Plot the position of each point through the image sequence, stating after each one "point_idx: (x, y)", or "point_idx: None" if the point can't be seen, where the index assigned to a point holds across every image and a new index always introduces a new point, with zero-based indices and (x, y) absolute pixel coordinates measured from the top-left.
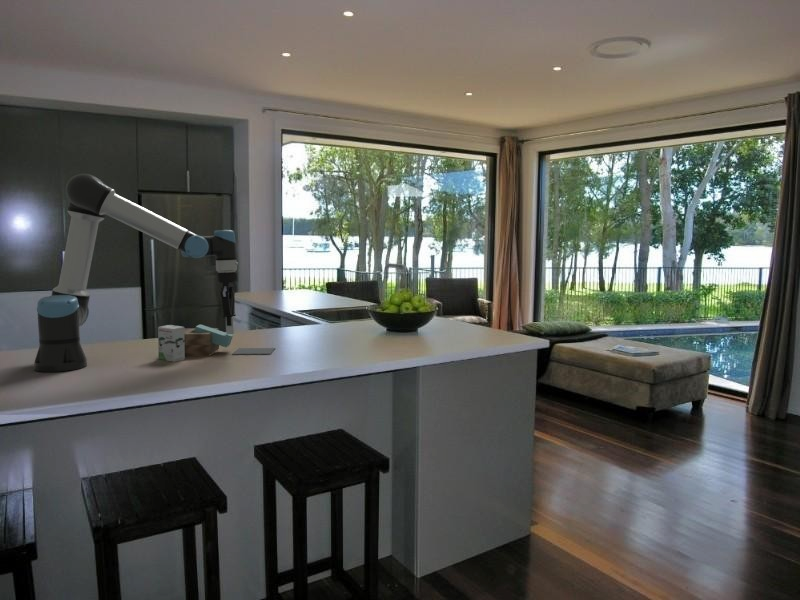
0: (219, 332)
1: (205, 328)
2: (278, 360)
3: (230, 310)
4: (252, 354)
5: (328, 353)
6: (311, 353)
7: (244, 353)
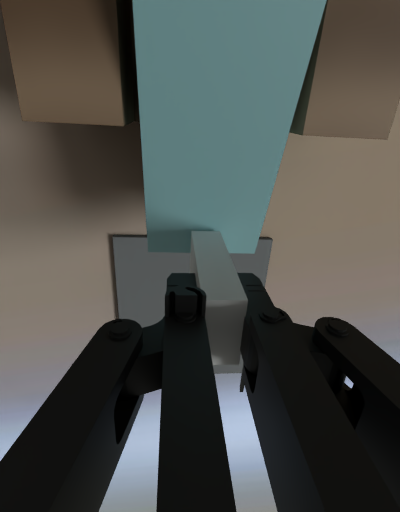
0: (207, 181)
1: (195, 42)
2: (12, 408)
3: (116, 441)
4: (119, 316)
5: (150, 494)
6: (150, 464)
7: (123, 288)
